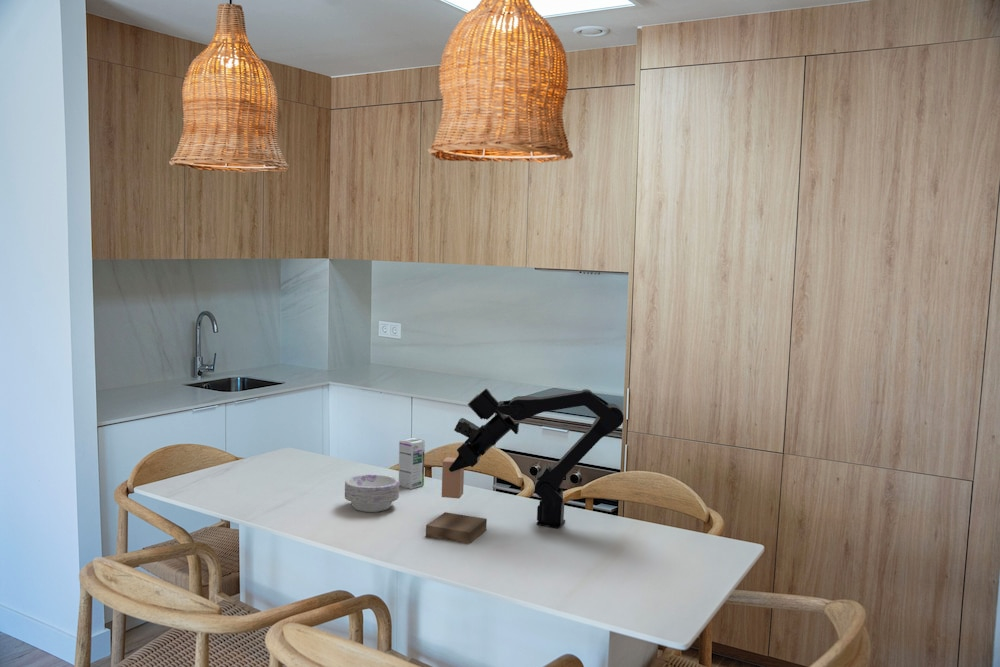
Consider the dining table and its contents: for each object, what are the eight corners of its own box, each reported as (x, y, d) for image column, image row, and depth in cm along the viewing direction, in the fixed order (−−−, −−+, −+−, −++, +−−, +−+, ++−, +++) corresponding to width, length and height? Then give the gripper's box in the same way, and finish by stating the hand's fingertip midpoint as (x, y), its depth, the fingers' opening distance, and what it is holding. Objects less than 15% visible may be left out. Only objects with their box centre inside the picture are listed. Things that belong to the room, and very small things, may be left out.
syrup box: (411, 489, 250) (413, 443, 248) (397, 485, 253) (399, 439, 252) (424, 485, 254) (425, 440, 253) (410, 482, 258) (411, 437, 256)
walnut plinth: (486, 529, 215) (486, 518, 215) (469, 543, 204) (469, 532, 204) (444, 523, 219) (445, 512, 219) (425, 536, 208) (426, 525, 208)
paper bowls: (371, 496, 241) (371, 470, 240) (409, 507, 232) (410, 479, 231) (332, 507, 228) (333, 480, 228) (371, 519, 220) (372, 490, 219)
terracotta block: (463, 493, 227) (464, 458, 226) (459, 498, 222) (460, 462, 222) (445, 492, 228) (446, 457, 227) (441, 497, 223) (442, 461, 222)
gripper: (479, 404, 231) (440, 439, 234) (466, 415, 213) (423, 454, 216) (505, 433, 231) (466, 468, 234) (494, 447, 213) (451, 485, 215)
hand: (452, 468), depth 225 cm, fingers closed on terracotta block, 5 cm apart
